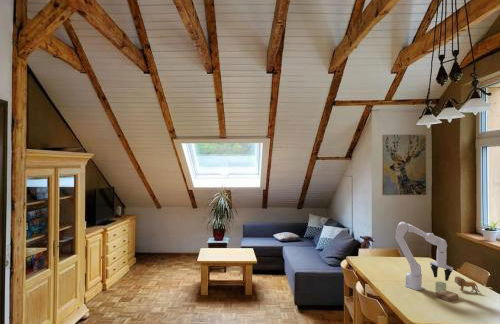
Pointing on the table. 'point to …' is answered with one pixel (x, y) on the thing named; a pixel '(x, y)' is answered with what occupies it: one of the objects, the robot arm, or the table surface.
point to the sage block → (440, 286)
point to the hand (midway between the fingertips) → (441, 278)
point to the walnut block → (446, 295)
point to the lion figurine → (465, 284)
